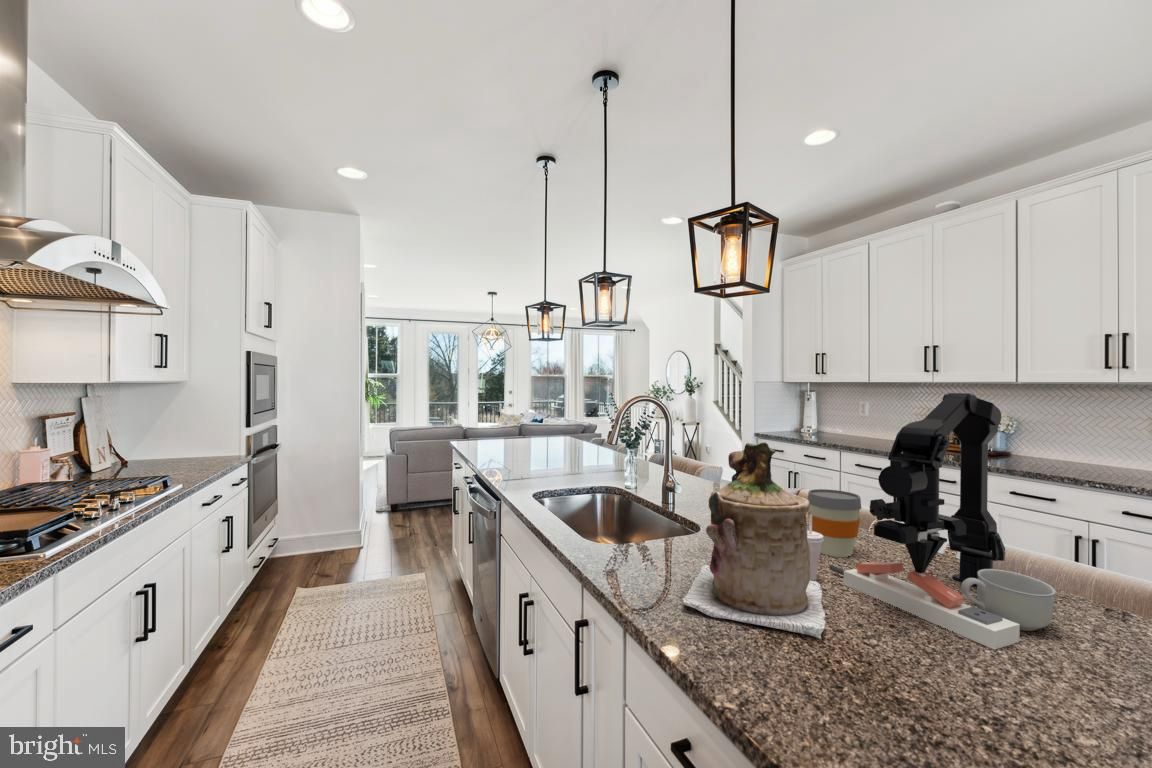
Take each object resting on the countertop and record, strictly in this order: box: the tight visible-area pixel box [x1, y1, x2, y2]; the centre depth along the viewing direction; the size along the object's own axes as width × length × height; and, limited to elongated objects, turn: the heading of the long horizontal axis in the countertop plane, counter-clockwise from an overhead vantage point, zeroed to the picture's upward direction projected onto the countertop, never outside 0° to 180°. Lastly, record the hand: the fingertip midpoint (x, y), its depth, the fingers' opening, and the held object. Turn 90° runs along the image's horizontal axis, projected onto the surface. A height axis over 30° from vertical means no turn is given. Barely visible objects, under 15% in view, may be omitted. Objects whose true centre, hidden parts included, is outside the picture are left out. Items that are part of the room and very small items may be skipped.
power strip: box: [829, 564, 1021, 651], centre depth 97 cm, size 7×34×4 cm, turn 22°
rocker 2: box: [906, 570, 965, 608], centre depth 92 cm, size 4×8×2 cm, turn 22°
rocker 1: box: [855, 561, 905, 574], centre depth 103 cm, size 4×8×2 cm, turn 22°
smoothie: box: [807, 515, 824, 581], centre depth 110 cm, size 6×6×14 cm
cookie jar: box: [682, 441, 827, 640], centre depth 98 cm, size 25×25×32 cm
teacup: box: [960, 568, 1057, 632], centre depth 90 cm, size 14×11×8 cm
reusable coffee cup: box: [807, 488, 862, 558], centre depth 128 cm, size 13×13×15 cm
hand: (919, 572), depth 95 cm, fingers closed, pressing on rocker 2
